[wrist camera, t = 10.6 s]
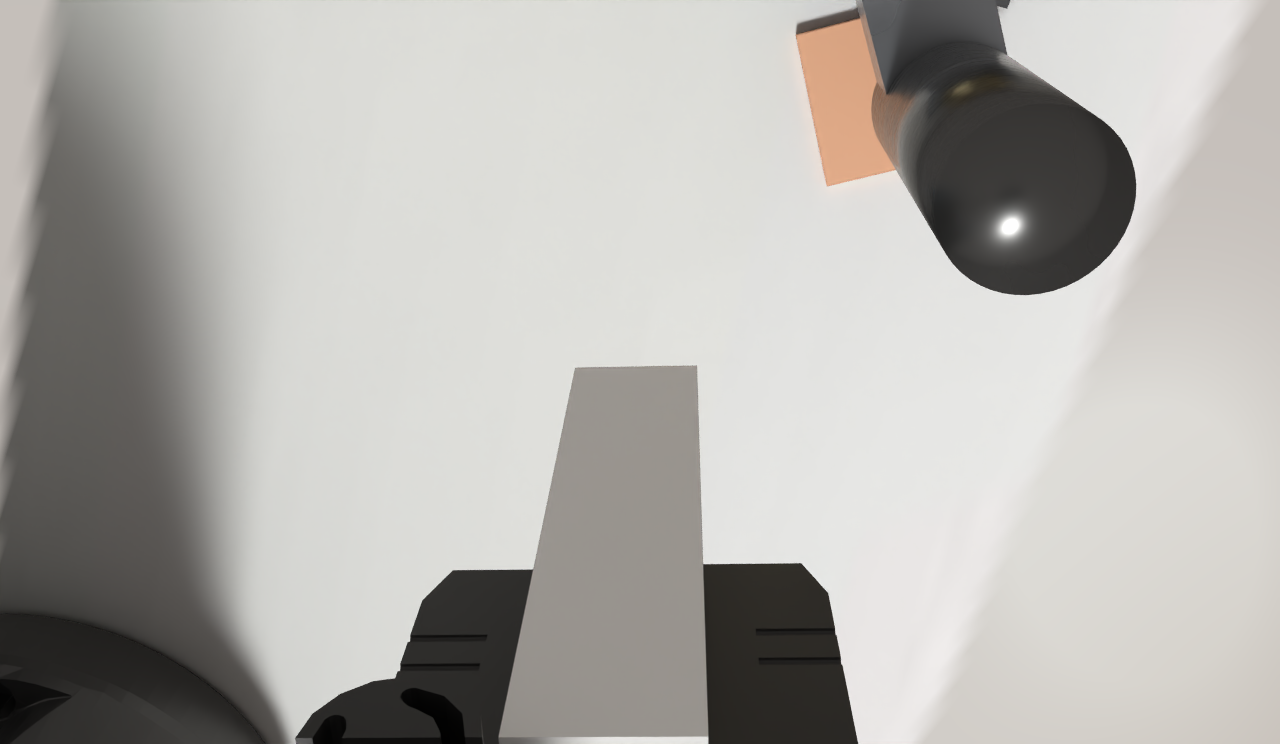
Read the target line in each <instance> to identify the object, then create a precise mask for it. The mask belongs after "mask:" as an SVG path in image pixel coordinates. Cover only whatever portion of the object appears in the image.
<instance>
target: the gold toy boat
mask: <svg viewBox="0 0 1280 744" xmlns="http://www.w3.org/2000/svg"><path fill="white" fill-rule="evenodd" d="M856 4H857V8H858V12H859V16H860V20H861V23H862V27H863V31H864V35H865V39H866V43H867V47H868V50H869V54H870V58H871V62H872V66H873V70H874V73H875V77H876V81H877V83H876V86H875V88H874V92H873V97H872V105H871V114H872V122H873V127H874V130H875V133H876V136H877V138H878V140H879V142H880V144H881V146H882V147H883V149H884V151H885V152H886V154H887V156H888V157H889V159H890V161H891V162H892V164H893V166H894V167H895V169H896V171H897V172H898V174H899V176H900V177H901V179H902V181H903V183H904V184H905V186H906V188H907V189H908V191H909V193H910V194H911V196H912V198H913V199H914V201H915V203H916V204H917V206H918V208H919V209H920V211H921V213H922V214H923V216H924V218H925V220H926V221H927V223H928V225H929V226H930V228H931V230H932V231H933V233H934V235H935V236H936V238H937V240H938V241H939V243H940V245H941V246H942V248H943V250H944V251H945V253H946V255H947V256H948V258H949V259H950V260H951V262H952V263H953V264H954V265H955V266H956V268H957V269H958V270H959V271H960V272H961V273H963V274H964V275H965V276H966V277H968V278H969V279H970V280H972V281H974V282H975V283H977V284H979V285H981V286H983V287H985V288H988V289H990V290H993V291H997V292H1001V293H1006V294H1013V295H1032V294H1041V293H1045V292H1050V291H1054V290H1057V289H1060V288H1062V287H1065V286H1068V285H1070V284H1072V283H1074V282H1076V281H1078V280H1079V279H1081V278H1083V277H1084V276H1086V275H1087V274H1089V273H1090V272H1092V271H1093V270H1094V269H1095V268H1097V267H1098V266H1099V265H1100V264H1101V263H1102V262H1103V261H1104V260H1105V259H1106V258H1107V257H1108V256H1109V255H1110V254H1111V252H1112V251H1113V250H1114V249H1115V247H1116V246H1117V245H1118V243H1119V242H1120V240H1121V238H1122V237H1123V235H1124V233H1125V231H1126V229H1127V227H1128V224H1129V222H1130V219H1131V216H1132V213H1133V210H1134V204H1135V198H1136V179H1135V171H1134V167H1133V163H1132V160H1131V157H1130V155H1129V153H1128V150H1127V148H1126V147H1125V145H1124V143H1123V142H1122V140H1121V138H1120V137H1119V136H1118V135H1117V134H1116V133H1115V131H1114V130H1113V129H1112V128H1111V127H1110V126H1108V125H1107V124H1106V123H1105V122H1104V121H1102V120H1101V119H1099V118H1098V117H1097V116H1095V115H1094V114H1092V113H1091V112H1089V111H1088V110H1086V109H1085V108H1083V107H1082V106H1081V105H1079V104H1078V103H1076V102H1075V101H1073V100H1072V99H1070V98H1069V97H1067V96H1066V95H1064V94H1063V93H1062V92H1060V91H1059V90H1057V89H1056V88H1054V87H1053V86H1051V85H1050V84H1048V83H1047V82H1045V81H1044V80H1043V79H1041V78H1040V77H1038V76H1037V75H1035V74H1034V73H1032V72H1031V71H1029V70H1028V69H1027V68H1025V67H1024V66H1022V65H1021V64H1019V63H1018V62H1016V61H1015V60H1013V59H1012V58H1010V57H1009V56H1008V55H1007V52H1006V47H1005V42H1004V38H1003V33H1002V28H1001V24H1000V19H999V14H998V10H997V5H996V0H856Z"/></svg>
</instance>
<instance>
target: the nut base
mask: <svg viewBox="0 0 1280 744" xmlns="http://www.w3.org/2000/svg"><path fill="white" fill-rule="evenodd" d="M1009 2H1010V0H996V5H997V6H1000V7H1003V8H1007V7H1008V5H1009ZM796 39H797V44H798V48H799V53H800V58H801V63H802V68H803V73H804V78H805V82H806V87H807V92H808V97H809V102H810V107H811V112H812V116H813V121H814V126H815V131H816V136H817V141H818V146H819V150H820V155H821V160H822V165H823V170H824V175H825V180H826V184H827V186H831V185H835V184H839V183H843V182H847V181H852V180H856V179H860V178H864V177H868V176H872V175H876V174H881V173H885V172H889V171H893V170H896V169H895V167H894V166H893V164H892V162H891V161H890V159H889V157H888V156H887V154H886V152H885V151H884V149H883V147H882V146H881V144H880V142H879V140H878V138H877V136H876V133H875V130H874V127H873V122H872V114H871V105H872V97H873V92H874V88H875V86H876V83H877V81H876V77H875V73H874V70H873V66H872V62H871V58H870V54H869V50H868V47H867V43H866V39H865V35H864V31H863V27H862V23H861V20H860V18H857V19H853V20H849V21H845V22H842V23H838V24H834V25H830V26H826V27H823V28H819V29H815V30H811V31H807V32H803V33H800V34H796Z"/></svg>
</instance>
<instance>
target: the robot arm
mask: <svg viewBox="0 0 1280 744" xmlns="http://www.w3.org/2000/svg"><path fill="white" fill-rule="evenodd" d="M410 637H411V638H410V642H408V643H407V646H406V649H405V652H404V655H403V658H402V661H401V663H400V666H401V667H400V671H398V672H397V675H396V678H395V679H387V680H380V681H373V682H370V683H368V684H365V685H363V686H360V687H357V688H355V689H352V690H350V691H347V692H344V693H342V694H340V695H338V696H337V697H335V698H334V699H333V700H331V701H330V702H328V703H327V704H326V705H324V706H323V707H321V708H320V709H319V710H317V711H316V712H314V713H313V714H312V715H311V717H310V718H309V720H308V721H307V722H306V724H305V725H304V727H303V728H302V729H301V731H300V732H299V734H298V735H297V736H296V738H295V740H296V744H858V741H857V736H856V731H855V726H854V721H853V716H852V711H851V706H850V701H849V696H848V691H847V686H846V681H845V676H844V671H843V666H842V665H841V656H840V651H839V646H838V641H837V636H836V635H835V626H834V621H833V616H832V611H831V606H830V601H829V596H828V593H827V592H826V590H825V589H824V588H823V587H822V586H821V585H820V584H819V583H818V581H817V580H816V579H815V578H814V577H813V576H812V575H811V574H810V573H809V571H808V570H807V569H806V568H805V567H804V566H803V565H802V564H801V563H793V564H703V547H702V514H701V482H700V449H699V416H698V384H697V366H644V367H587V368H575V371H574V376H573V381H572V386H571V390H570V395H569V400H568V405H567V410H566V415H565V419H564V424H563V429H562V434H561V439H560V443H559V448H558V453H557V458H556V463H555V467H554V472H553V477H552V482H551V487H550V492H549V496H548V501H547V506H546V511H545V516H544V520H543V525H542V530H541V535H540V540H539V545H538V549H537V554H536V559H535V564H534V569H533V570H453V571H452V572H451V573H450V574H449V575H448V576H447V577H446V578H445V579H444V580H443V581H442V582H441V583H440V584H439V585H438V586H437V587H436V588H435V589H434V590H433V591H432V592H431V593H430V594H429V595H428V596H426V597H425V598H424V599H423V600H422V603H421V606H420V609H419V612H418V615H417V618H416V620H415V623H414V626H413V629H412V632H411V635H410ZM0 744H265V743H264V742H263V741H262V739H261V738H260V737H259V735H258V734H257V733H256V731H255V730H254V729H253V728H252V727H251V725H250V724H249V723H248V722H247V721H246V719H245V718H244V717H243V716H242V715H241V714H240V713H239V712H238V711H237V710H236V709H235V708H234V707H233V706H232V705H231V704H230V703H229V702H228V701H226V700H225V699H224V698H223V697H222V696H221V695H220V694H219V693H217V692H216V691H215V690H214V689H212V688H211V687H210V686H209V685H207V684H206V683H205V682H203V681H202V680H201V679H199V678H198V677H196V676H195V675H194V674H192V673H191V672H189V671H188V670H186V669H185V668H183V667H181V666H180V665H178V664H177V663H175V662H173V661H172V660H170V659H168V658H166V657H164V656H162V655H161V654H159V653H157V652H155V651H153V650H151V649H149V648H147V647H145V646H142V645H140V644H138V643H136V642H133V641H131V640H128V639H126V638H124V637H121V636H119V635H116V634H113V633H110V632H107V631H104V630H101V629H98V628H94V627H91V626H87V625H84V624H80V623H75V622H71V621H66V620H61V619H55V618H49V617H43V616H33V615H21V614H0Z"/></svg>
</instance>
